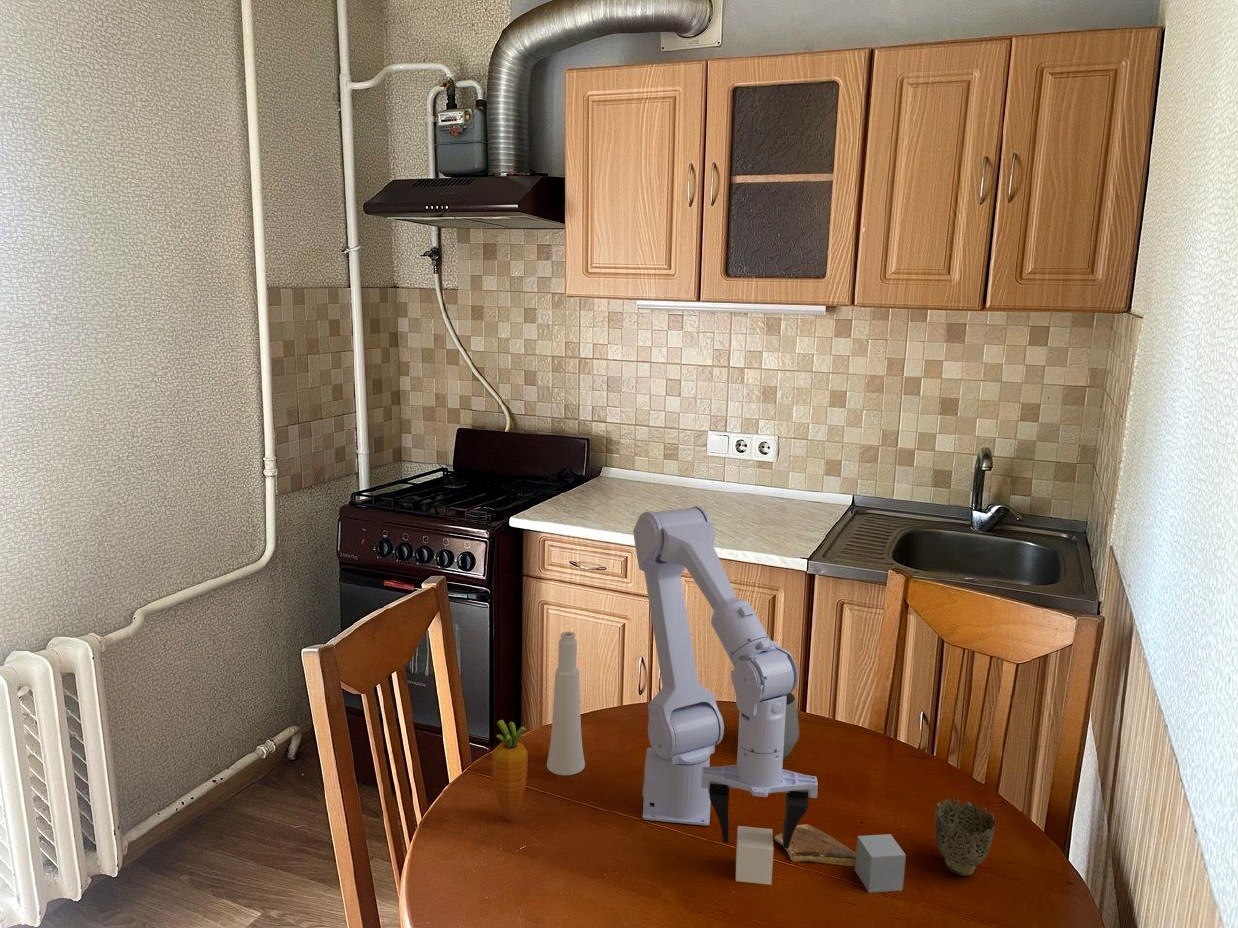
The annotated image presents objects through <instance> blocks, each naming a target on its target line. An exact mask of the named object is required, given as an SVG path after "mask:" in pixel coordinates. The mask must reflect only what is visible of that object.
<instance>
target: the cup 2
mask: <svg viewBox="0 0 1238 928" xmlns="http://www.w3.org/2000/svg"><path fill="white" fill-rule="evenodd" d="M936 807H937V808H936V810H934V827H935V841H936V844H937V845H936V846H937V848H938V850H939V852H940V854H941V855H942V856H943V858H945V860H944V862H945V865H946V868H947V869H948V870H949V871H950V872H951V873H953V874H954V875H958V876H962V877H966V876H970V875H972V874H973V872H975V869H976V866H978V865H980V864H982V863H983V862H984V861H985V860H986V858H987V856H988V853H989V851H990V849H991V845H992V841H993V840H992V839H993V837H994V833H995V827H996V819H995V815H994V813H987V812H988V811H987V809H986V807H984V808H983V809H980V808H979V807H978V804H977V803H973V804H971V802H970V801H969V800H968V801H965V802H964V803H963V804H961V800H960V799H956V800H955V801H954V803H953V802H952V801H951V800H950V799H948V798H946V799H944V800H943V802H942V803H941V802H939V801H938V802H937V804H936Z"/></svg>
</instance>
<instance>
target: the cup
mask: <svg viewBox="0 0 1238 928" xmlns="http://www.w3.org/2000/svg"><path fill="white" fill-rule="evenodd" d="M784 696H787V699H786V716H785V733H784V749H783V760H784V759H785V758H787V757H788V756H789V754H790V753H791V752H792V750H793V748H794V747H795V746H796V744H797V742H798V740H799V737H800V726H799V716H798V709H797V707H798V706H797V699H796V697H795V696H796V695H795V694H794V693H792V692H791V693H788V694H786V695H784Z"/></svg>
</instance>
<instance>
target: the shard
mask: <svg viewBox="0 0 1238 928" xmlns="http://www.w3.org/2000/svg"><path fill="white" fill-rule="evenodd" d="M774 840H775V841H776V842H777V843H778V845H780V846H782V847H783V831H782V832H780V833H778V834H776V835H775V836H774ZM784 849H785V851H786V853H788V856H789V858H790V860H791V862H793V863H797V862H812V863H821V864H827V865H834V866H835V865H837V866H844V867H855V864H856V851H853V850H852V849H850V848H849V847H848V846H847V845H844V843H842V842H841V841H839V840H837V839H835V838H834V837H833V836H831V835H829V834H827V833H826V832H824V831H822V830H821V829H819V828H816V827H815V826H812V824H806V823H805V824H797V826H796V828H795V830H794V832H793V835H792V838H791V841H790V845H789V848H788V849H787V848H784Z"/></svg>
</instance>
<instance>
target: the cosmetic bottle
mask: <svg viewBox="0 0 1238 928" xmlns="http://www.w3.org/2000/svg"><path fill="white" fill-rule="evenodd" d="M577 643H578V642H577V639H576V634H575V633H574V632H572V631H565V632H561V633H560V639H559V640H558V663H557V665H558V667H557V668H556V669H555V673H554V674H555V675H554V687H553V688H554V690H553V707H552V721H551V722H552V723H551V733H550V734H551V735H550V744H549V749H548V750H549V751H548V755H547V756H548V757H547V761H546V768H547V769H548V771H549V772H550V773H552V774H555V775H558V776H572V775H573V776H574V775H576V774H578V773H580V772H582V771H583V770H584V769H585V767H586V762H585V757H584V756H585V755H584V751H583V750H584V749H583V742H582V741H583V738H582V726H581V725H582V723H581V720H582V719H581V693H580V692H581V690H580V689H581V686H580V670H579V669H578V668H577V658H578V657H577V655H578V654H577V653H578V652H577V650H578V649H577Z"/></svg>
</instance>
